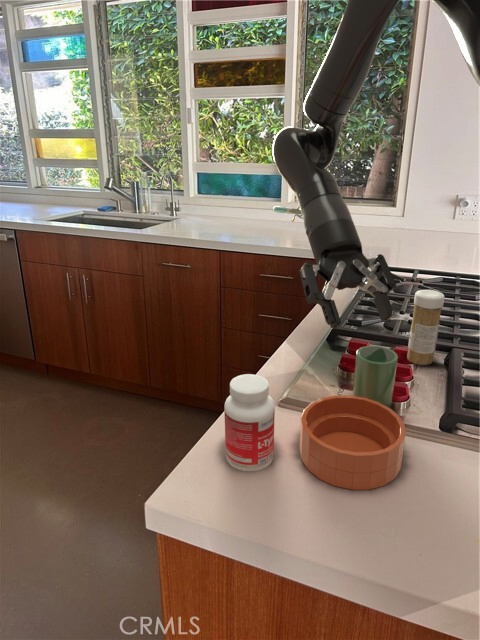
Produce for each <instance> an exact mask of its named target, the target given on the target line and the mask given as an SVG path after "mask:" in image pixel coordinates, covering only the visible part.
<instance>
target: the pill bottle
mask: <svg viewBox="0 0 480 640" xmlns="http://www.w3.org/2000/svg"><path fill="white" fill-rule="evenodd" d="M269 393H270V383H269V381H268V379H266V378H265V377H264V376H261V375H259V374H252V373H246V374H245V373H244V374H240V375H237V376H235V377H233V378H232V379H231V380H230V382H229V396H227V397H226V400H225V402H224V409H223V411H224V437H225V438H224V443H225V446H224V447H225V459H226V461H227V463H228V464H229V465H230V466H231V467H233V468H234V469H236V470H239V471H243V472H258V471H261V470H263V469H265V468H267V467H268V466H270V465H271V463H272V462H273V460H274V456H275V455H274V454H275V412H276V411H275V408H276V407H275V406H276V405H275V402H274V399H273V398H272V397H271V395H270V394H269Z"/></svg>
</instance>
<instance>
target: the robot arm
mask: <svg viewBox="0 0 480 640" xmlns="http://www.w3.org/2000/svg"><path fill="white" fill-rule="evenodd" d="M400 1H401V0H348V1H347V3H346V6H345V9H344V12H343V14H342V18H341V20H340V22H339V25H338V28H337V30H336V33H335V34H334V38H333V39H332V42H331V45H330V47H329V49H328V51H327V53H326V56H325V58H324V60H323V62H322V64H321V66H320V68H319V69H318V72H317V74H316V76H315V77H314V80H313V83H312V85H311V88H309V91H308V93H307V95H306V97H305V100H304V102H303V112H304V113H303V114H304V115H305V117H307V119H308V120H310V122H312V123H314V124H315V125H316V127H315V128H314V129H307V128H301V127H295V126H287V127H284V128H282V129H281V130H279V132H277V134H276V136H275V137H274V140H273V143H272V156H273V162H274V164H275V167H276V168H277V170H278V172H279V174H280V176H282V178H283V180H284V181H285V183H286V184H287V185H288V187H289V189H291V191H292V192H293V194H294V195H295V198H296V200H297V203H298V207H300V208H299V210H301V213H302V216H301V217H303V219H302V221H303V225H304V230H305V234H306V236H307V239H308V242H309V245H310V249H311V252H312V255H313V258H314V261H315V262H316V263H315V264H313V263H312V262H311V261H305V263H304V264H303V265H302V267H301V269H300V270H299V275H300V276H299V277H300V280H301V284H302V288H303V292H304V296H305V301H306V303H307V304H308V305H312V304H317V305H319V306H320V308H321V310H322V311H321V312H322V313H323V316H324V321H325V323H326V324H327V325H328V326H329V327H330V328H331V329H335V328H338V327H339V326H340V325H341V323H342V321H341V318H340V314H339V311H338V308H337V306H336V302H335V299H332V298H333V295H334V293H335V290H336V289H337V291H341V290H344V289H356V288H358V289H360V290H361V291H363V292H366V293H368V294H369V295H370V296H371V297H372V298H374V300H373V302H374V305H375V307H376V311H377V314H378V316H379V318H380V321H382V322H385V321H388V320H390V318H392V317H393V316H392V315H393V312H394V308H393V306H392V304H391V301H390V298H389V296H388V294H389V293H390V292H391V291H393V290H394V289H395V288H396V287H397V283H396V281H395V278H394V276H393V273H392V271H391V269H390V267H389V265H388V262H387V260H386V258H385V256H384V255H383V254H381V253H378V255H376V256H375V257H371V258H367V257H366V255H365V254H364V252H363V246H362V242H361V239H360V237H359V234H358V233H359V232H358V230H357V228H356V226H355V223H354V220H353V217H352V215H351V212H350V209H349V208H348V206H347V204H346V201H345V200H344V198H343V194H342V192H341V190H340V187H339V185H338V182H337V179H336V177H335V175H334V174H333V173H332V172H331V171H330V170H328V169H327V168H328V167H329V166H330V164H331V163H332V161H333V159H334V157H335V153H336V150H337V146H338V142H339V138H340V135H341V131H342V128H343V125H344V122H345V118H346V117H347V115H348V113H349V112H350V110H351V108H352V106H353V105H354V103H355V101H356V99H357V97H358V96H359V94H360V92H361V90H362V88H363V87H364V84H365V82H366V81H367V78H368V75H369V73H370V70H371V67H372V65H373V64H372V63H373V61H374V57H375V54H376V50H377V47H378V46H379V45H378V44H379V42H380V39H381V36H382V34H383V32H384V30H385V27H386V25H387V23H388V21H389V20H390V17H391V16H392V14H393V12H394V11H395V8H397V5H398V4H399V2H400ZM431 1H432V2H433V3H434V5H435V7H437V8H438V9H439V11H440V12H441V13H442V14H443V15H444V17H445V18H446V20H447V21H448V23H449V25H450V27H451V29H452V31H453V34H454V36H455V39H456V41H457V44H458V47H459V49H460V53H461V54H462V57H463V60H464V61H465V64H466V66H467V68H468V70H469V72H470V74H471V75H472V77H473V78H474V80H475V82H476V83H477V84H478V86H479V87H480V0H431ZM318 275H319V276H320V277H321V278H322V279H323V280H324V281H325V283H324V286H323V288H322V290H321V291H320V290H319V285H318V282H317V278H316V277H317V276H318ZM365 279H366V280H367V281H364V280H365Z"/></svg>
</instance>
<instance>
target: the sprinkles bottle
mask: <svg viewBox="0 0 480 640" xmlns="http://www.w3.org/2000/svg"><path fill="white" fill-rule="evenodd" d="M413 299H414V300H413V304H414V305H413V306H414V307H413V312H412V313H413V314H412V319H411V320H412V321H411V325H410V331H409V338H408V345H407V347H408V349H407V355H406V359H407V361H409V362H410V363H412V364H415V365H420V366H428V365H431V364H432V363H433V362H434V355H435V351H436V347H437V341H438V336H439V328H440V321H441V320H440V319H441V313H442V309H443V307H444V303H445V294H443V292H440V291H438V290H433V289H419V290H417V291H415V293H414V298H413Z"/></svg>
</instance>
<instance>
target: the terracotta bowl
mask: <svg viewBox="0 0 480 640" xmlns="http://www.w3.org/2000/svg"><path fill="white" fill-rule="evenodd" d="M299 431H300V433H299V453H300V459H301V461H302V463H303V464H304V466H305V468H306V469H307V470H308V472H310V473H311V474H313V475H314V476H315V477H316V478H317V479H319V480H320V481H323V482H325V483H327V484H329V485H331V486H334V487H338V488H342V489H347V490H351V491H354V490H355V491H359V490H360V491H366V490H367V491H369V490H373V489H377V488H381V487H384V486H386V485H388V484H390V482H393V480H395V479H396V477H397V476H398V475H399V473H400V471H401V468H402V461H403V454H404V448H405V442H406V425H405V424H404V421H403V419H402V418H401V416H399V414H397V412H395V411H394V410H393V409H392V408H391V407H390V408H388V407H386V406H385V405H383V404H381V403H379V402H376V401H373V400H370V399H367V398H363V397H357V396H353V395H351V394H350V395H349V394H348V395H347V394H346V395H343V394H341V395H340V394H339V395H336V394H335V395H330V396H325V397H321V398H318V399H317V400H315V401H312V402H310V403H309V404H308V406H306V407H305V408H304V409H303V411H302V414H301V417H300V430H299Z"/></svg>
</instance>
